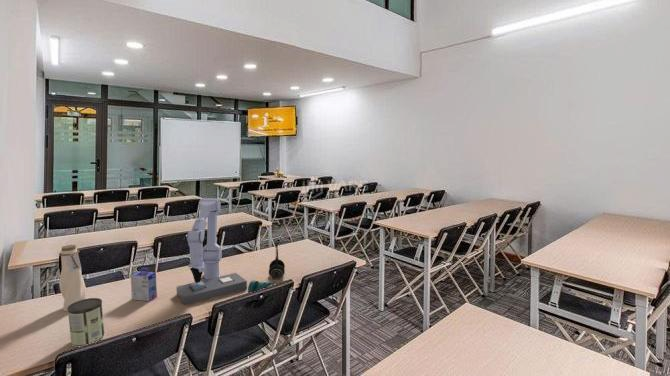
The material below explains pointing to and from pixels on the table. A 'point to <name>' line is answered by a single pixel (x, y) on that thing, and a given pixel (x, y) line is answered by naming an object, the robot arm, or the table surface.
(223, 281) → the white key
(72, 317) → the coffee can
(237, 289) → the key panel
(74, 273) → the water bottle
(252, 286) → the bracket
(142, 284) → the ink cartridge box
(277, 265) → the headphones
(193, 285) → the slate blue key
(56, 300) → the table surface
